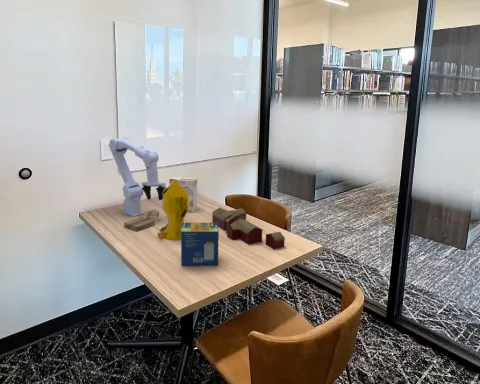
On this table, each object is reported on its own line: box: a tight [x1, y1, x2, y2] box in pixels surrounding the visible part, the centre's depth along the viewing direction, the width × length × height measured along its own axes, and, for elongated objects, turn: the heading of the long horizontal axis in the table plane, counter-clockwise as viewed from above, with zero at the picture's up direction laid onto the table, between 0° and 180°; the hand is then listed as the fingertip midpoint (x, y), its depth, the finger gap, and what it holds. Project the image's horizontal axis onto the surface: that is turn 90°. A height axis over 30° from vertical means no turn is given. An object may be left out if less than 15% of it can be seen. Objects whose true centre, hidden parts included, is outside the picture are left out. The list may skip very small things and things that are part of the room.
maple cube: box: [145, 208, 160, 222], centre depth 203 cm, size 5×5×5 cm
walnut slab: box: [123, 216, 156, 233], centre depth 192 cm, size 10×12×3 cm
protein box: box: [180, 221, 220, 267], centre depth 153 cm, size 10×15×16 cm
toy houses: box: [210, 207, 286, 250], centre depth 184 cm, size 45×20×10 cm, turn 32°
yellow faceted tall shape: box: [157, 179, 189, 242], centre depth 179 cm, size 18×24×28 cm
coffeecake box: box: [169, 175, 198, 213], centre depth 218 cm, size 15×7×20 cm, turn 77°
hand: (154, 199), depth 199 cm, fingers open, 7 cm apart
